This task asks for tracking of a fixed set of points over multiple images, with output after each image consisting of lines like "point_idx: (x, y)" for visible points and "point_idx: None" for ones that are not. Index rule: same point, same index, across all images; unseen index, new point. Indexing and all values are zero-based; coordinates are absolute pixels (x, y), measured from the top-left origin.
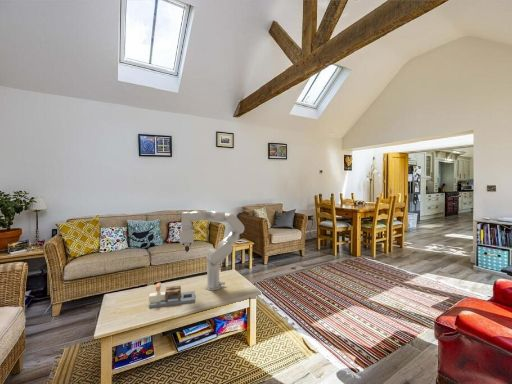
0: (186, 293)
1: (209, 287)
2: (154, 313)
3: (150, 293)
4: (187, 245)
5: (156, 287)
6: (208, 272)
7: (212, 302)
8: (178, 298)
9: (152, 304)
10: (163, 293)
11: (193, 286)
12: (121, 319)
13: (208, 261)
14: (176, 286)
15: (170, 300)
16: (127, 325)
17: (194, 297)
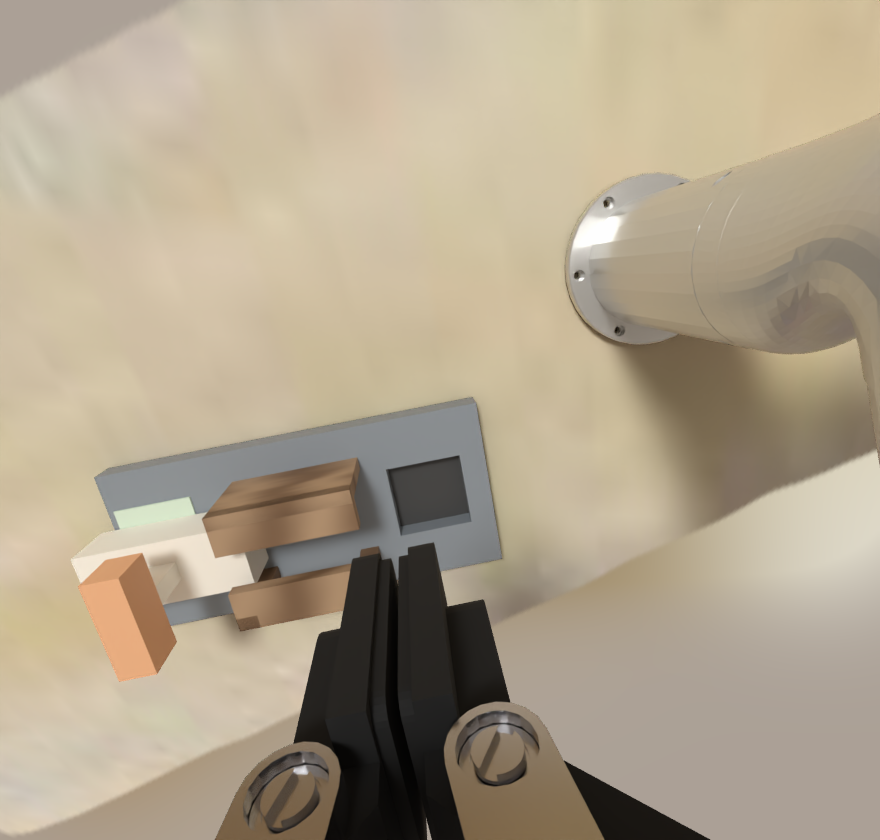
0: (407, 445)
1: (612, 314)
2: (237, 673)
3: (77, 562)
4: (438, 826)
5: (128, 675)
6: (687, 319)
7: (631, 550)
8: None
9: (173, 617)
10: (212, 569)
11: (430, 212)
12: (41, 731)
13: (808, 302)
14: (308, 506)
15: (299, 563)
16: (128, 786)
17: (493, 524)
